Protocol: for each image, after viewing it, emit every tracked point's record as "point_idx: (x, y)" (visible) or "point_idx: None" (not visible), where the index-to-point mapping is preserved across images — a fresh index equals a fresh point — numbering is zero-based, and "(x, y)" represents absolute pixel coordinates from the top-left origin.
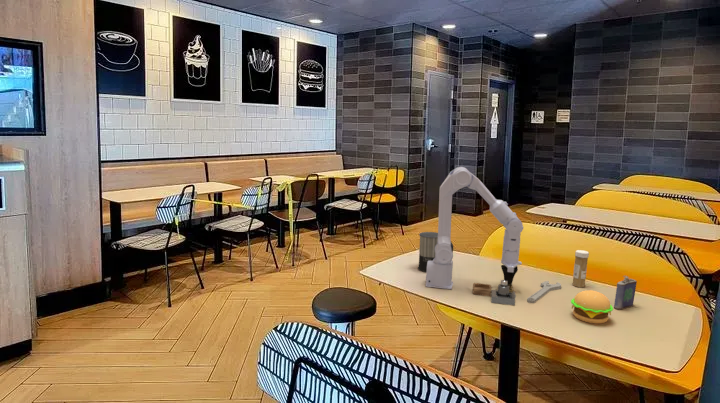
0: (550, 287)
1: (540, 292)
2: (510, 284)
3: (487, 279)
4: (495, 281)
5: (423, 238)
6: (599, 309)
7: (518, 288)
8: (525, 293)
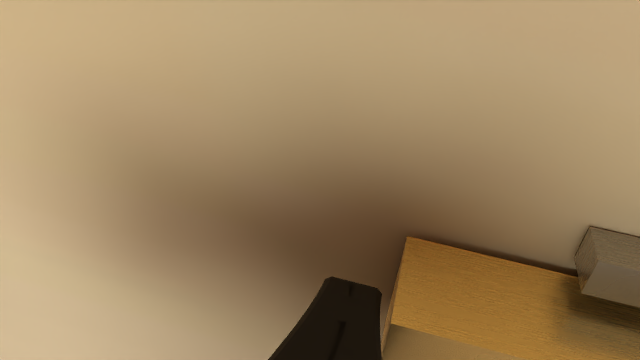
0: None
1: None
2: (425, 352)
3: (37, 347)
4: (61, 295)
5: None
6: None
7: (242, 70)
8: (528, 5)
